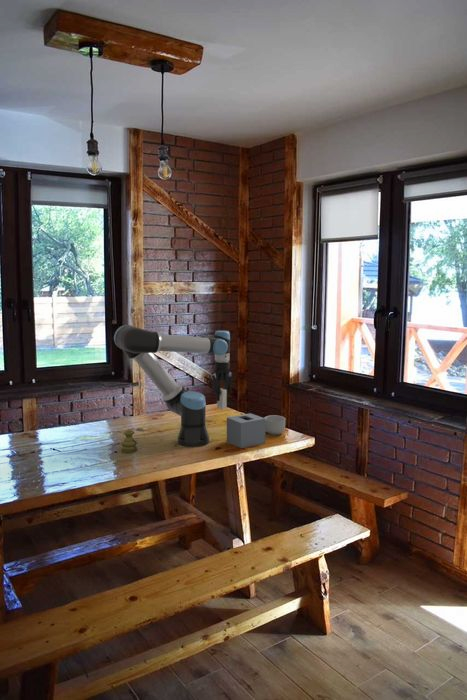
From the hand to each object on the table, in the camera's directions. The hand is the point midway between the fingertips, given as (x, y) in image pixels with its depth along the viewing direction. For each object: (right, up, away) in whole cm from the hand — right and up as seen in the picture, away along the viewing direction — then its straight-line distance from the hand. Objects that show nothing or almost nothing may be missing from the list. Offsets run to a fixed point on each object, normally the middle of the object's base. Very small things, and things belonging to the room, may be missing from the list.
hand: (221, 406), depth 298 cm
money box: (+12, -15, -21) cm, 29 cm away
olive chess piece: (-41, -17, -34) cm, 56 cm away
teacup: (+25, -13, -5) cm, 29 cm away
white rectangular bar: (0, -1, 0) cm, 1 cm away
